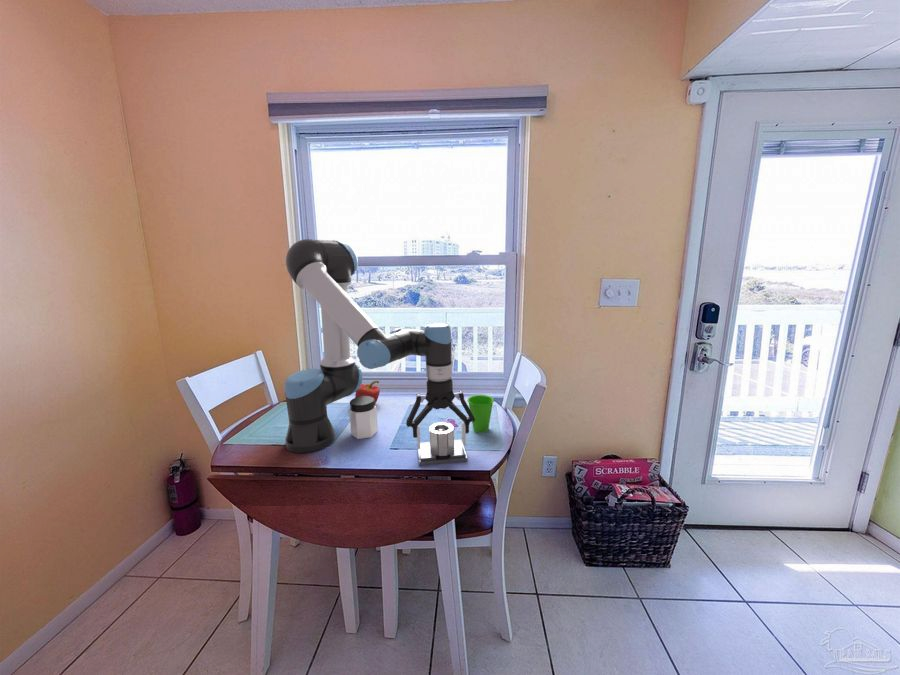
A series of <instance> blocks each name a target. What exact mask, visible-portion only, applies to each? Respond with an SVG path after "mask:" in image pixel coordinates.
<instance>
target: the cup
mask: <svg viewBox="0 0 900 675" xmlns="http://www.w3.org/2000/svg"><path fill="white" fill-rule="evenodd" d="M466 402H467V403H468V404H469V405H468V407H469V409H470V410H471V412H472V414H473V416H474V418H475V421H474V422H471V423H472V428H473V431H474V432H476V433H482V434H483V433H486V432H488V430H489V428H490V423H491V422H490V421H491V417H492V416H491V415H492V409H493V403H494V402H495V400H494V398H493V397H492V396H490V395H487V394H475V395H471V396H469V397H468V398H467V401H466Z"/></svg>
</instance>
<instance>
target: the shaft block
mask: <svg viewBox="0 0 900 675" xmlns="http://www.w3.org/2000/svg"><path fill="white" fill-rule="evenodd" d="M436 431H438V432H442V431H446V428H444V427H439V428H437V429H436ZM464 446H465V445H463V443H462V438H461V439H454V452H452V453H451V454H449V455H448V454H447V456H439V455H438V456H437V455H434V454H432V453H431V450H430V441H427V442H420V449H418V448H417V452H418V466H419V467H423V466H424V467H425V466H432V465H433V466H434V465H445V464H456V463H465V462H467V463H468V455H467V452H466V449H465V447H464Z"/></svg>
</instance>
